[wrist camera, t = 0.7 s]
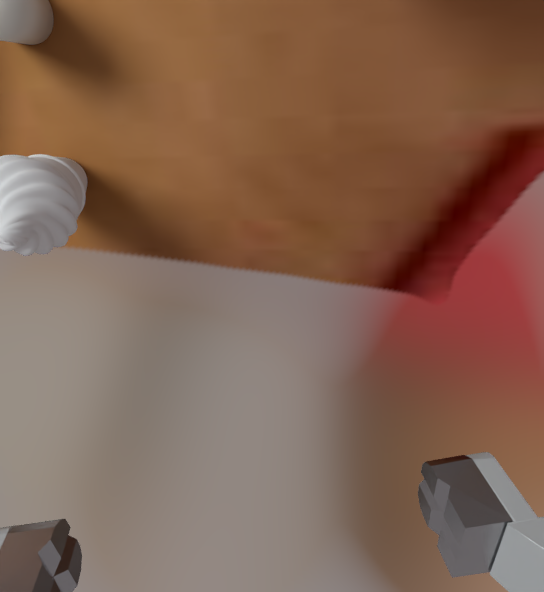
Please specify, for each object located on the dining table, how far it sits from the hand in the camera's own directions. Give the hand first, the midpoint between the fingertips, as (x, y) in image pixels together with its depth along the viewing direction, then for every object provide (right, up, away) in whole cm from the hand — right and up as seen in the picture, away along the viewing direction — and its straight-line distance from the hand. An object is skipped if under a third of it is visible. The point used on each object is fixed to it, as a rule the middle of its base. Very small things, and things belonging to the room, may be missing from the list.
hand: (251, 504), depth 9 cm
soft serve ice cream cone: (-21, +17, +34) cm, 44 cm away
